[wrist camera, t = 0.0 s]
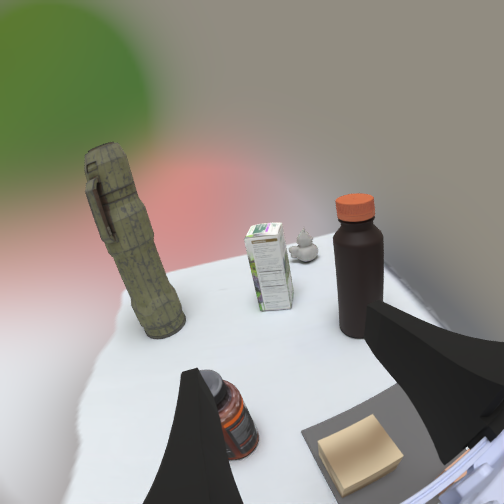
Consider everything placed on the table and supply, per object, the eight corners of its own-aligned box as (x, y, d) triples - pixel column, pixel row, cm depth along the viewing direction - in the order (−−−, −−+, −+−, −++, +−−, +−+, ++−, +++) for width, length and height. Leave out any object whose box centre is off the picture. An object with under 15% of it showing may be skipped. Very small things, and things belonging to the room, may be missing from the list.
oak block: (395, 469, 18) (403, 455, 17) (342, 497, 17) (344, 488, 16) (368, 431, 24) (372, 413, 22) (319, 455, 23) (317, 440, 21)
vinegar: (350, 307, 45) (340, 190, 37) (387, 316, 41) (387, 192, 33) (331, 332, 41) (318, 205, 33) (372, 343, 36) (371, 208, 28)
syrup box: (265, 294, 55) (248, 225, 50) (294, 291, 54) (281, 220, 48) (260, 311, 50) (241, 238, 45) (292, 309, 49) (278, 233, 43)
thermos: (136, 346, 47) (60, 161, 34) (154, 310, 58) (97, 151, 44) (178, 343, 46) (104, 139, 33) (191, 305, 57) (137, 135, 43)
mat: (502, 494, 9) (503, 493, 9) (384, 582, 7) (385, 583, 7) (402, 381, 29) (402, 379, 29) (301, 432, 27) (301, 430, 26)
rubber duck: (321, 262, 62) (316, 229, 59) (292, 268, 62) (286, 235, 59) (316, 252, 67) (312, 221, 64) (289, 257, 67) (284, 226, 64)
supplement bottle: (262, 420, 29) (239, 360, 25) (256, 462, 24) (227, 412, 20) (215, 420, 31) (181, 361, 26) (205, 459, 25) (162, 407, 21)
